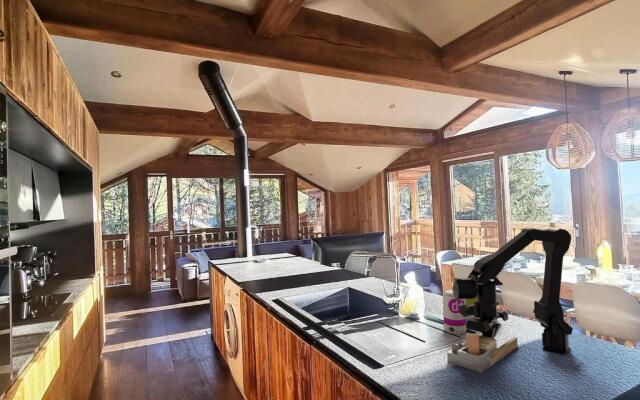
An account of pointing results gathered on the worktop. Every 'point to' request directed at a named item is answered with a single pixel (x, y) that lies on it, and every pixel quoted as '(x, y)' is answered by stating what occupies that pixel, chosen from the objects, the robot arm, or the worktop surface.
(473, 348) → the handle peg
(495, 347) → the cream wooden block
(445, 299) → the supplement can
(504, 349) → the bay
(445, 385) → the worktop surface
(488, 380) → the worktop surface
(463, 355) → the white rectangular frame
